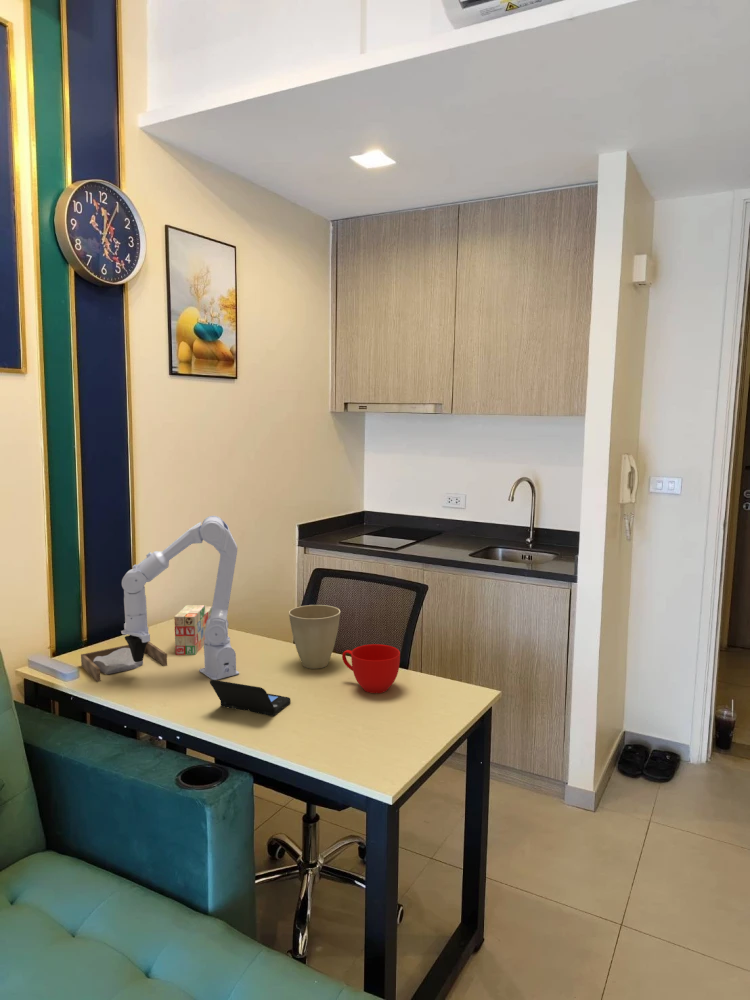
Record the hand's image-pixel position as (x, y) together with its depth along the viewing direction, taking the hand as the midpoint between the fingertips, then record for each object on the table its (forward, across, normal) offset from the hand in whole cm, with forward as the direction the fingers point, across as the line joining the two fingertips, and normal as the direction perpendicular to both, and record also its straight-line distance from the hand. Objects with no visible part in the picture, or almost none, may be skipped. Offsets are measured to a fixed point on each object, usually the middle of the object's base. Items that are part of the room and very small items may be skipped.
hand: (138, 660), depth 189 cm
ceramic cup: (+6, +45, +46) cm, 64 cm away
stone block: (+5, -11, -2) cm, 13 cm away
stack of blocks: (+5, -17, +24) cm, 30 cm away
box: (+5, -12, 0) cm, 12 cm away
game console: (+6, +37, +15) cm, 40 cm away
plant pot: (+5, +22, +44) cm, 49 cm away
